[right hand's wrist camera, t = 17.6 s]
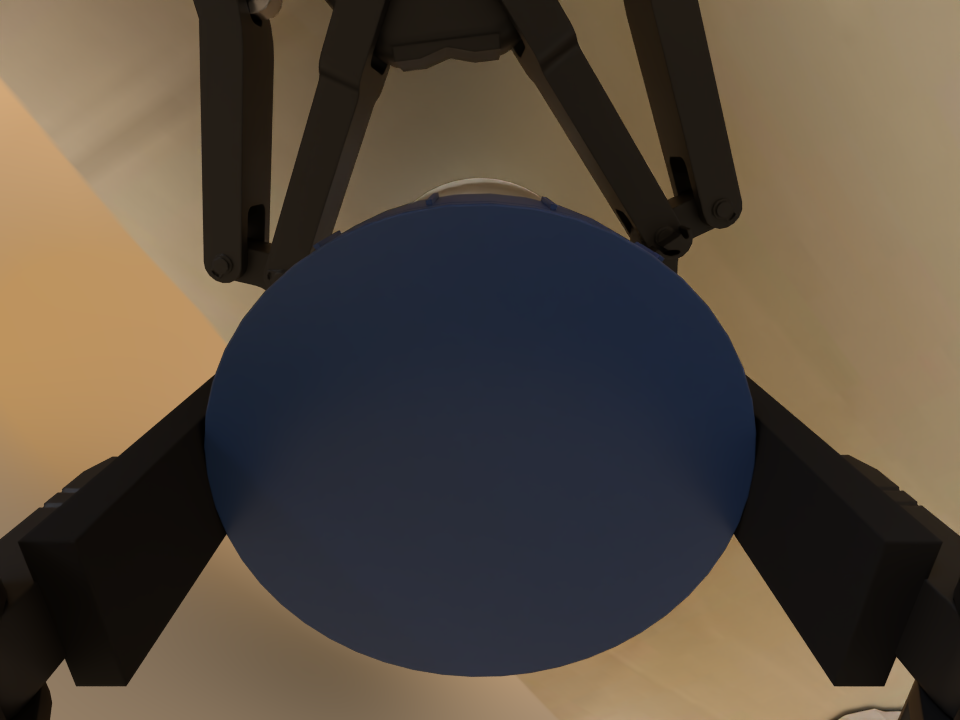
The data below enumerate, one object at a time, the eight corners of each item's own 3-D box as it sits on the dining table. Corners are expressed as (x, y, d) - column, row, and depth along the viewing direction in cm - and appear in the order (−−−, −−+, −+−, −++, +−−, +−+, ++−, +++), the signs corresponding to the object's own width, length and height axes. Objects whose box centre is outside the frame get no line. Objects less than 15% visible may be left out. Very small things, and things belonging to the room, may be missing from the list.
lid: (470, 663, 15) (469, 740, 13) (154, 421, 12) (91, 473, 10) (800, 442, 12) (860, 497, 10) (495, 65, 10) (498, 42, 8)
